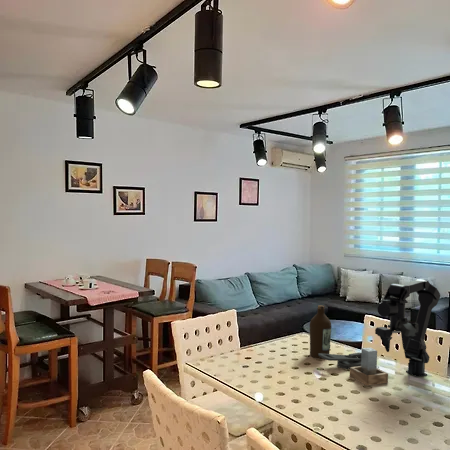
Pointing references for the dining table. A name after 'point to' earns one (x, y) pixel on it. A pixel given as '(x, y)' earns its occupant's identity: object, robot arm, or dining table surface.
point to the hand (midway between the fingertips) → (396, 350)
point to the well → (368, 376)
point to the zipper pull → (344, 359)
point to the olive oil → (320, 333)
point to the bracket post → (369, 361)
